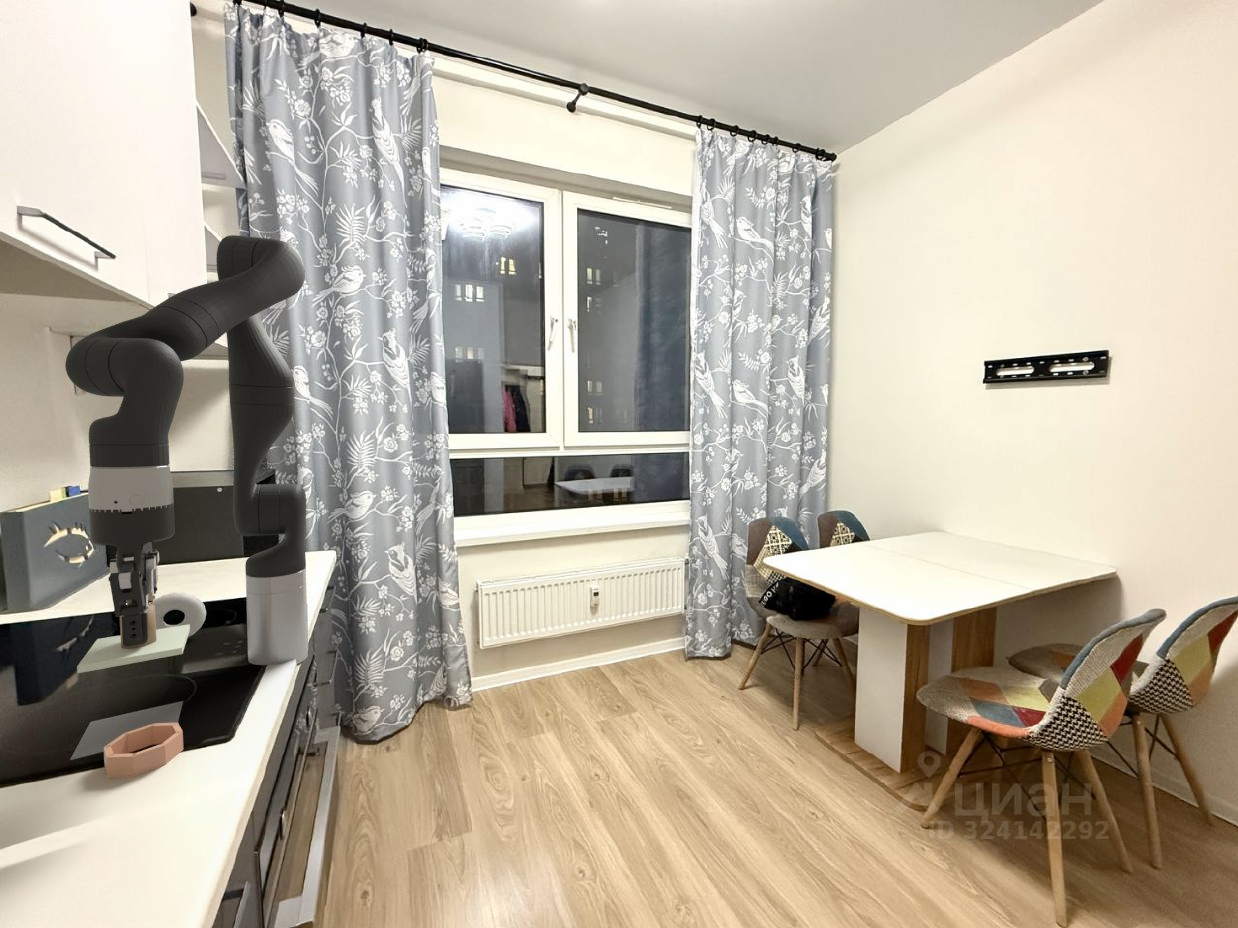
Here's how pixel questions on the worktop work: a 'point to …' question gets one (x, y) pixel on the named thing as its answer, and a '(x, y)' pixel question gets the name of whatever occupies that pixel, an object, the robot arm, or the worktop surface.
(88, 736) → the mat
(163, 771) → the worktop surface
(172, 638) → the lid
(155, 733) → the pink hollow octagonal piece
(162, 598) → the donut
